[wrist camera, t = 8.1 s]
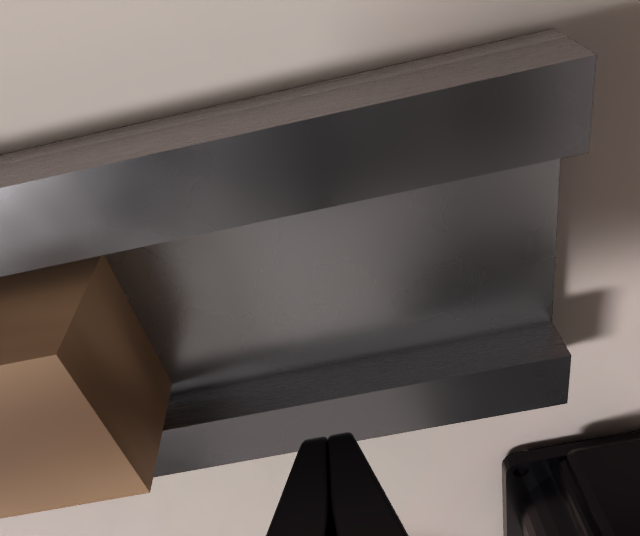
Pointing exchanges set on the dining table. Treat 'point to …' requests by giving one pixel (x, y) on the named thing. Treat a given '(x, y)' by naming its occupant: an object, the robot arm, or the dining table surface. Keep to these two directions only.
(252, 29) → the dining table surface
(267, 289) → the rail bed
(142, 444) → the tan wooden brick
